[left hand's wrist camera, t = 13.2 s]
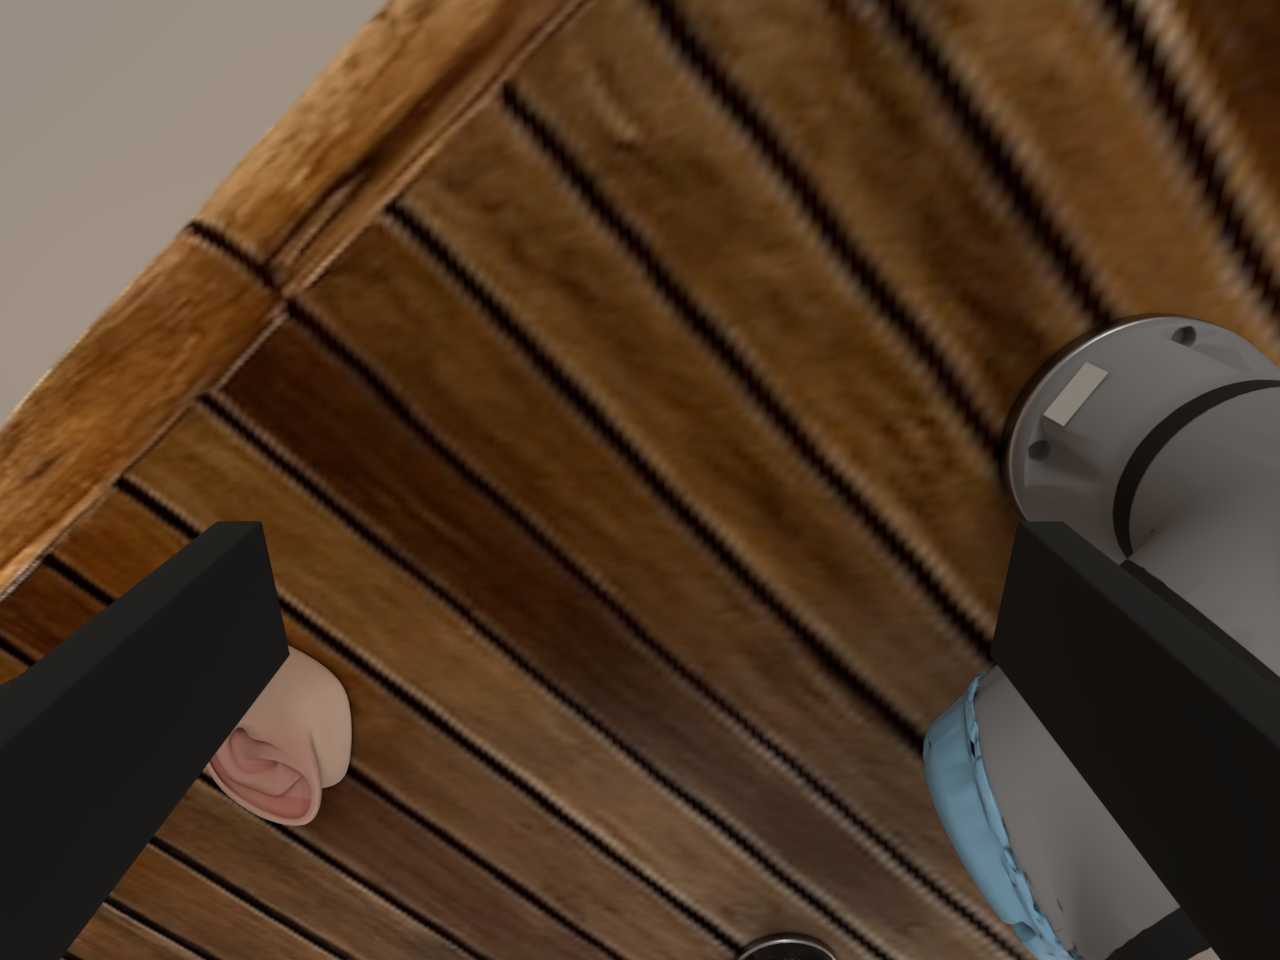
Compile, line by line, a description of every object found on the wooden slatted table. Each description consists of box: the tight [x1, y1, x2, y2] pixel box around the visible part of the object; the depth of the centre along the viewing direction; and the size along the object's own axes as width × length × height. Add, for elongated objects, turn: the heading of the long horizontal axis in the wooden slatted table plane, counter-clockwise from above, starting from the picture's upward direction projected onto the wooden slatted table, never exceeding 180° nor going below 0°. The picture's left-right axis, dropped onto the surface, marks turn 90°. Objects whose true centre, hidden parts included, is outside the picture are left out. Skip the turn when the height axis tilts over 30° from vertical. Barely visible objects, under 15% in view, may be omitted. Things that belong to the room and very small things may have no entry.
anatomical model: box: [206, 645, 352, 826], centre depth 51 cm, size 13×4×12 cm
